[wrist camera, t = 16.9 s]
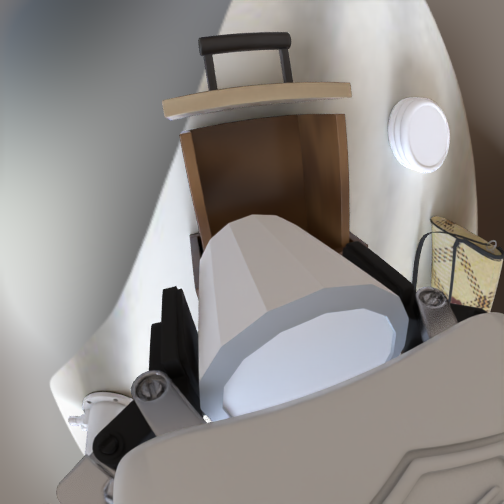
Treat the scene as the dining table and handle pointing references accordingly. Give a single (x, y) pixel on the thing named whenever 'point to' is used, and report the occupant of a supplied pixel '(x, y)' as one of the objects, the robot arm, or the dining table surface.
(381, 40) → the dining table surface
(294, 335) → the white cylinder
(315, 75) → the dining table surface
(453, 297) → the clutch purse
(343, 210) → the drawer
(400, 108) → the white round disc
